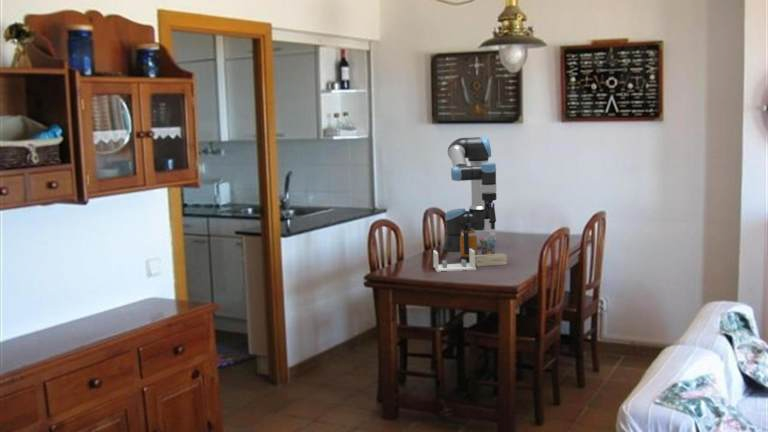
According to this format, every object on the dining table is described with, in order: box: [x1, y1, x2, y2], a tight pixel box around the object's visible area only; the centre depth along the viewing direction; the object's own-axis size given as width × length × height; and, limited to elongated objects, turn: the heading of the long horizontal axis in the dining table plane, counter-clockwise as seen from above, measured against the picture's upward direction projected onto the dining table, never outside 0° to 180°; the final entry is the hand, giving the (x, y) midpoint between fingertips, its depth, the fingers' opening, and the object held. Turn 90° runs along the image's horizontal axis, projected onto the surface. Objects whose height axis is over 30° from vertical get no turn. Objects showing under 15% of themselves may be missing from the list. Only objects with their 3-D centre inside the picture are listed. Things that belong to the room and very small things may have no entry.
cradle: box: [432, 249, 477, 273], centre depth 408 cm, size 14×20×9 cm
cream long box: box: [475, 253, 508, 267], centre depth 415 cm, size 6×16×5 cm, turn 98°
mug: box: [479, 237, 497, 255], centre depth 434 cm, size 12×9×11 cm
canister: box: [459, 223, 478, 262], centre depth 429 cm, size 9×11×20 cm
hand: (489, 233), depth 413 cm, fingers open, 13 cm apart
